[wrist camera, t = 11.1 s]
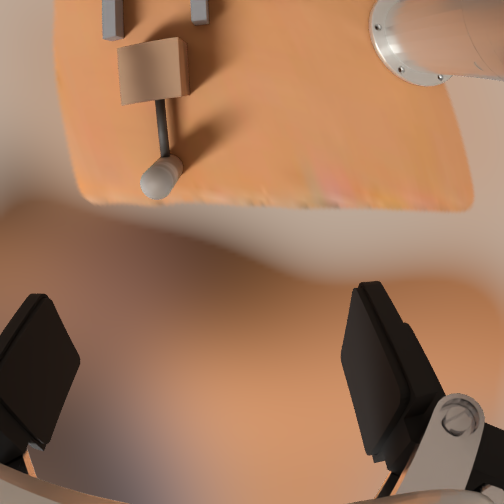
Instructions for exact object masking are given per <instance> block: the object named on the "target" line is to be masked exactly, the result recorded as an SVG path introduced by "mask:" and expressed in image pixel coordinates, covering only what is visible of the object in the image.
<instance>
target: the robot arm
mask: <svg viewBox="0 0 504 504" xmlns="http://www.w3.org/2000/svg"><path fill="white" fill-rule="evenodd" d="M375 26H376V27H377V30H376V29H375ZM369 33H370V38H371V41H372V44H373V47H374V49H375V51H376V53H377V54H378V56H379V58H380V59H381V61H382V62H383V63H384V65H385V66H386V67H387V68H388V69H389V70H390V71H391V72H392V73H393V74H395V75H396V76H398V77H399V78H400V79H402V80H404V81H406V82H408V83H411V84H415V85H419V86H435V85H439V84H442V83H444V82H445V81H447V80H448V79H449V78H451V77H452V76H453V75H457V76H467V77H476V78H484V79H492V80H499V81H504V0H377V1H376V2H375V3H374V5H373V7H372V10H371V12H370V17H369ZM398 68H399V69H400V71H398ZM341 362H342V366H343V370H344V373H345V376H346V380H347V384H348V387H349V391H350V395H351V398H352V402H353V406H354V409H355V413H356V417H357V421H358V424H359V428H360V432H361V436H362V440H363V444H364V448H365V451H366V453H367V455H372V457H373V460H374V463H376V462H381V461H385V462H386V465H387V469H388V470H389V473H388V475H387V477H386V478H385V480H384V482H383V484H382V485H381V487H380V489H379V491H378V492H377V494H376V496H375V497H374V499H371V500H366V501H359V502H354V503H349V504H504V430H501V429H499V428H497V427H494V426H492V425H490V424H487V423H485V422H484V420H485V417H484V413H483V410H482V408H481V407H480V405H479V403H477V402H476V401H475V400H474V399H473V398H471V397H469V396H467V395H464V394H460V393H457V394H450V395H447V396H446V395H445V393H444V391H443V389H442V387H441V384H440V382H439V380H438V379H437V376H436V374H435V372H434V370H433V368H432V367H431V364H430V362H429V360H428V358H427V357H426V355H425V353H424V351H423V349H422V347H421V345H420V343H419V341H418V339H417V338H416V336H415V334H414V333H413V330H412V329H411V327H410V326H409V324H407V323H403V321H402V319H401V317H400V315H399V314H398V312H397V310H396V308H395V306H394V305H393V303H392V301H391V299H390V298H389V296H388V294H387V292H386V291H385V289H384V287H383V285H382V284H381V282H379V281H373V282H361V283H360V284H359V286H358V288H354V289H353V291H352V297H351V303H350V309H349V315H348V319H347V325H346V330H345V335H344V340H343V345H342V350H341ZM79 365H80V357H79V354H78V353H77V351H76V349H75V347H74V345H73V343H72V341H71V339H70V337H69V335H68V333H67V331H66V329H65V327H64V325H63V323H62V321H61V319H60V317H59V315H58V313H57V310H56V308H55V306H54V304H53V302H52V300H50V299H49V298H48V296H47V295H46V294H30V295H29V296H28V297H27V298H26V300H25V301H24V302H23V304H22V305H21V307H20V308H19V309H18V310H17V312H16V313H15V315H14V316H13V317H12V319H11V320H10V322H9V323H8V325H7V326H6V327H5V329H4V330H3V332H2V334H1V335H0V504H129V503H124V502H119V501H114V500H110V499H105V498H101V497H97V496H93V495H89V494H85V493H82V492H78V491H75V490H71V489H68V488H65V487H61V486H58V485H55V484H52V483H49V482H46V481H43V480H41V479H38V478H37V476H36V473H35V471H34V468H33V465H32V462H31V459H30V456H29V453H28V450H27V445H28V444H29V445H30V446H31V447H32V448H35V449H38V450H42V451H44V449H45V447H46V444H47V443H49V442H50V440H51V436H52V434H53V431H54V428H55V426H56V423H57V420H58V418H59V415H60V412H61V410H62V407H63V405H64V402H65V399H66V397H67V394H68V392H69V390H70V387H71V385H72V382H73V380H74V377H75V375H76V373H77V370H78V368H79Z"/></svg>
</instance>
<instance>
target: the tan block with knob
mask: <svg viewBox="0 0 504 504" xmlns="http://www.w3.org/2000/svg"><path fill="white" fill-rule="evenodd" d="M117 54H118V70H119V83H120V94H121V104H122V106H123V105H128V104H134V103H140V102H146V101H152V100H155V105H156V115H157V125H158V135H159V144H160V152H161V157H160V158H159V159H158V160H157V161H156V162H155V163H154V164H153V165H152V166H151V167H150V168H149V169H148V170H147V171H146V172H145V173H144V174H143V175H142V177H141V180H140V186H141V189H142V191H143V193H144V194H145V195H146V196H147V197H149V198H151V199H155V200H159V199H163V198H165V197H166V196H168V194H169V193H170V192H171V190H172V188H173V187H174V185H175V184H176V182H177V181H178V179H179V177H180V176H181V174H182V172H183V164H182V162H181V160H180V159H179V158H178V157H177V156H175V155H172V154H170V150H169V141H168V131H167V121H166V110H165V99H167V98H174V97H182V96H187V95H190V87H189V71H188V54H187V43H186V42H184V41H183V40H182V39H180V38H179V37H174V38H167V39H161V40H155V41H150V42H144V43H139V44H134V45H130V46H125V47H121V48H117Z"/></svg>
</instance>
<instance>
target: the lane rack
mask: <svg viewBox="0 0 504 504" xmlns="http://www.w3.org/2000/svg"><path fill="white" fill-rule="evenodd" d="M190 1H191V21H192V23H193V24H194V25H204V24H209V10H208V0H190ZM102 28H103V39H105V40H109V41H115V40H119V39H123V38H124V27H123V0H102Z"/></svg>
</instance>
